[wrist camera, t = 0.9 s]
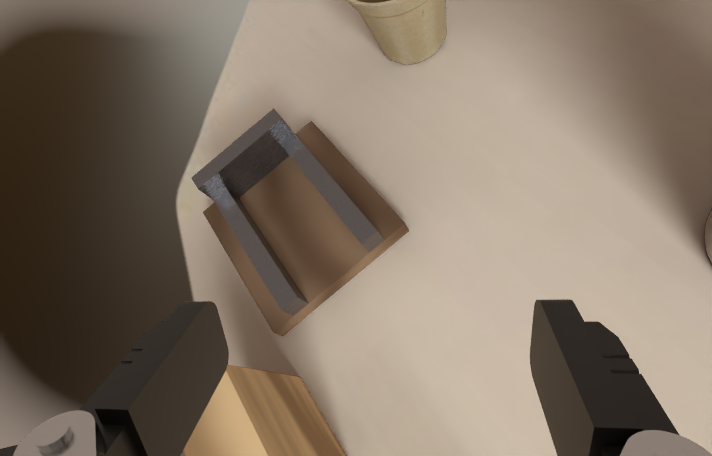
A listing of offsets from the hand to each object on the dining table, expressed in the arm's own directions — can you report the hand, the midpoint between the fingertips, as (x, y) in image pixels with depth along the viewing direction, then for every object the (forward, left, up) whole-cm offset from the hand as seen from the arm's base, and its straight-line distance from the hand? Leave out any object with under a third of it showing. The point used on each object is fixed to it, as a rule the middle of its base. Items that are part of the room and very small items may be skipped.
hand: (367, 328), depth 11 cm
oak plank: (+11, -4, -21) cm, 24 cm away
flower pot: (-17, -26, -21) cm, 37 cm away
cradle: (+2, -18, -21) cm, 28 cm away
